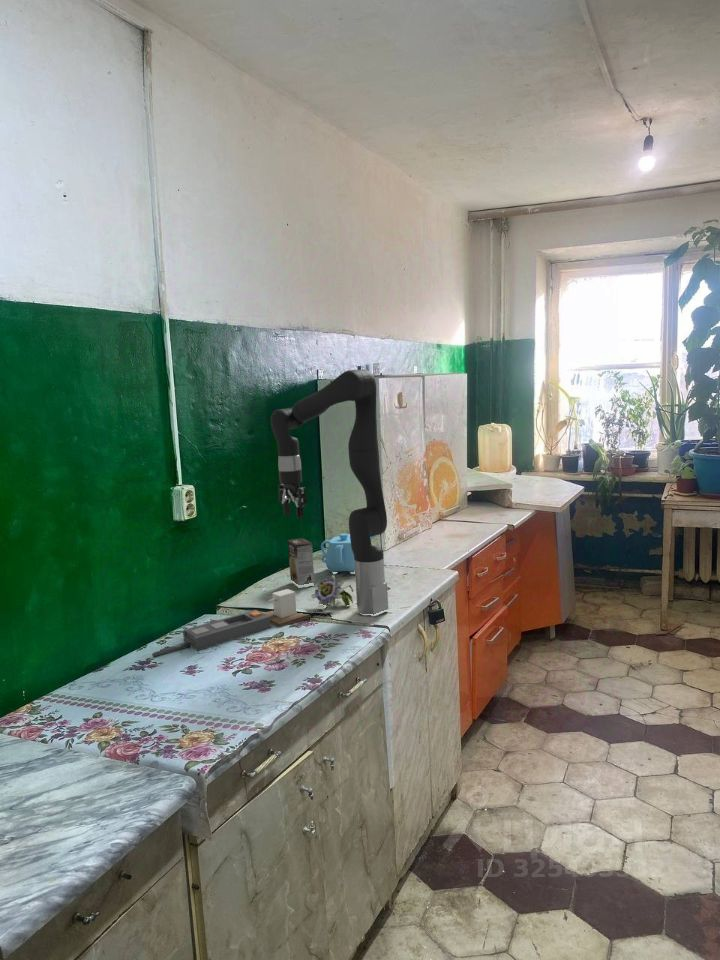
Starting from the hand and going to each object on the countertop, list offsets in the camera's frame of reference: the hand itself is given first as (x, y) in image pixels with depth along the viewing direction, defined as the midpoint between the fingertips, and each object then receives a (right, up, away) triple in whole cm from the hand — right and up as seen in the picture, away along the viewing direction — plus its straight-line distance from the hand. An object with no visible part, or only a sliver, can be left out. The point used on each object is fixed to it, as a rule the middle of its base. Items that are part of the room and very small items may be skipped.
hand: (293, 516), depth 230 cm
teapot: (+18, -23, +32) cm, 43 cm away
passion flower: (+14, -29, -7) cm, 33 cm away
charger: (-2, -30, -16) cm, 34 cm away
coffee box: (+1, -26, +18) cm, 31 cm away
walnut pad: (-1, -31, -15) cm, 34 cm away
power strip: (-21, -35, -30) cm, 51 cm away
